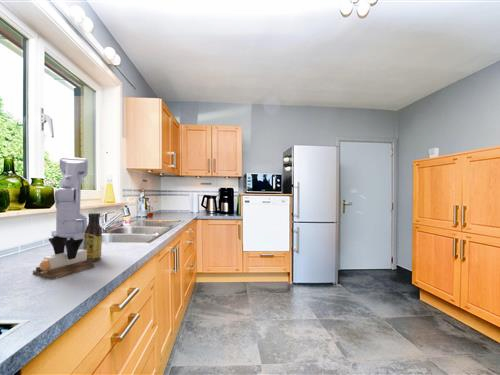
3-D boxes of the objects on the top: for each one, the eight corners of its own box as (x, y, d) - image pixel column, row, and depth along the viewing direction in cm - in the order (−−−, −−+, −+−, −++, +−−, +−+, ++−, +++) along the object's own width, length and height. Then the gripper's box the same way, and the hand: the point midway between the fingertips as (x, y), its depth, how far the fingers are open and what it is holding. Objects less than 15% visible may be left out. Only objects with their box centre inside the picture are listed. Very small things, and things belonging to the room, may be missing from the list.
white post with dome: (80, 261, 93) (80, 249, 94) (86, 263, 92) (86, 250, 92) (36, 273, 81) (37, 258, 81) (43, 274, 79) (43, 259, 79)
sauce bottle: (79, 261, 97) (80, 213, 97) (94, 257, 103) (95, 212, 103) (90, 263, 94) (91, 214, 95) (105, 259, 100) (105, 212, 100)
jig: (75, 262, 96) (75, 256, 96) (94, 266, 91) (95, 260, 91) (32, 273, 83) (32, 266, 83) (52, 279, 78) (52, 271, 78)
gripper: (42, 220, 86) (41, 257, 86) (65, 223, 80) (65, 263, 80) (63, 218, 93) (63, 253, 93) (87, 220, 87) (86, 257, 87)
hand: (65, 257), depth 87 cm, fingers open, 7 cm apart
